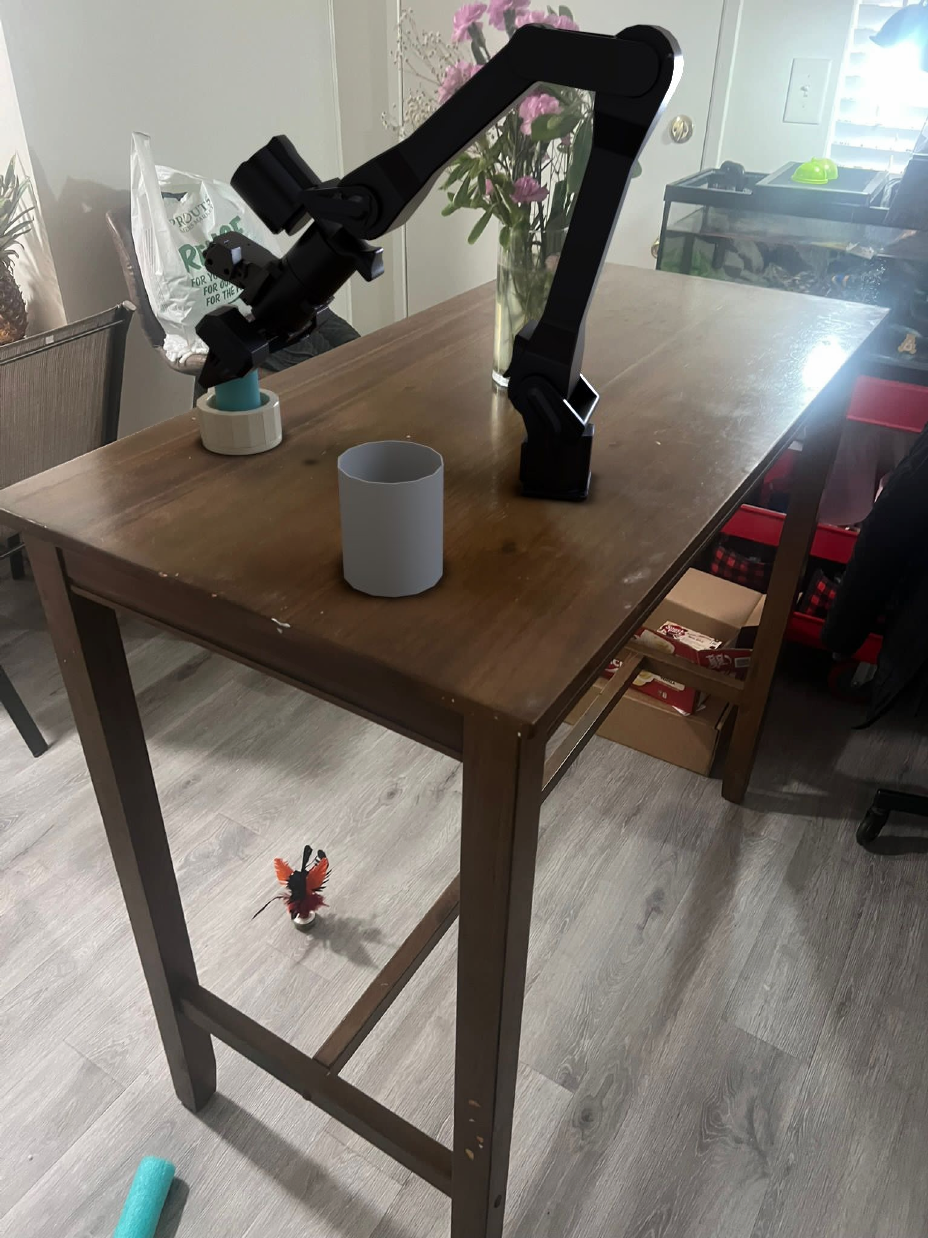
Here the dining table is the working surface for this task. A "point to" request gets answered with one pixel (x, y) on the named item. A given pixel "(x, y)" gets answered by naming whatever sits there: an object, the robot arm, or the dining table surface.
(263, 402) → the holder
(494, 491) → the dining table surface
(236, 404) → the bottle
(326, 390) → the dining table surface
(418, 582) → the cup
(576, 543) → the dining table surface
